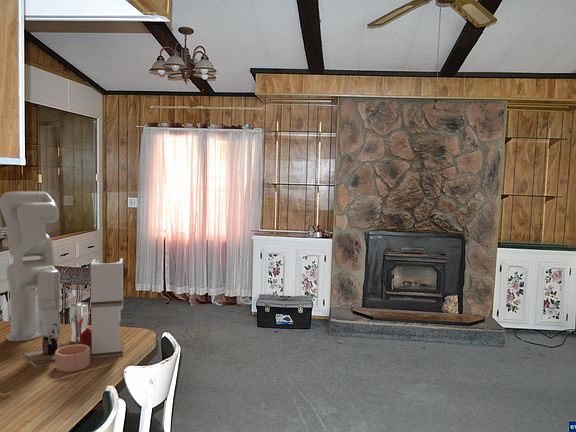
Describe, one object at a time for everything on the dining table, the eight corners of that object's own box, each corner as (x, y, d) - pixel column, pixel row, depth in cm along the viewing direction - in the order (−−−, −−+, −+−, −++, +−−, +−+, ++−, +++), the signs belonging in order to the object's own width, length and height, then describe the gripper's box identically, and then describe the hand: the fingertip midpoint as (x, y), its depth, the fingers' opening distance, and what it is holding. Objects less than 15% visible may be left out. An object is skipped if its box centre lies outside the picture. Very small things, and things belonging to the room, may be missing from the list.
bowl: (50, 366, 164) (50, 349, 163) (81, 358, 172) (81, 342, 171) (63, 375, 157) (63, 358, 156) (95, 366, 164) (94, 349, 164)
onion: (97, 344, 186) (97, 324, 186) (94, 349, 181) (93, 329, 180) (82, 345, 185) (81, 325, 185) (78, 350, 180) (77, 329, 179)
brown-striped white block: (122, 356, 174) (121, 263, 172) (92, 359, 171) (90, 264, 168) (123, 346, 185) (122, 258, 183) (94, 348, 182) (93, 259, 179)
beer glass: (81, 344, 187) (81, 307, 185) (66, 342, 188) (65, 305, 187) (92, 338, 193) (91, 302, 192) (77, 337, 195) (76, 301, 194)
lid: (22, 355, 172) (22, 341, 172) (62, 346, 183) (61, 332, 182) (37, 366, 163) (36, 350, 163) (77, 355, 173) (77, 341, 173)
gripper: (29, 300, 174) (30, 349, 176) (47, 309, 163) (48, 361, 164) (50, 297, 180) (51, 344, 181) (69, 305, 168) (70, 355, 170)
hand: (50, 351), depth 173 cm, fingers closed on lid, 4 cm apart
